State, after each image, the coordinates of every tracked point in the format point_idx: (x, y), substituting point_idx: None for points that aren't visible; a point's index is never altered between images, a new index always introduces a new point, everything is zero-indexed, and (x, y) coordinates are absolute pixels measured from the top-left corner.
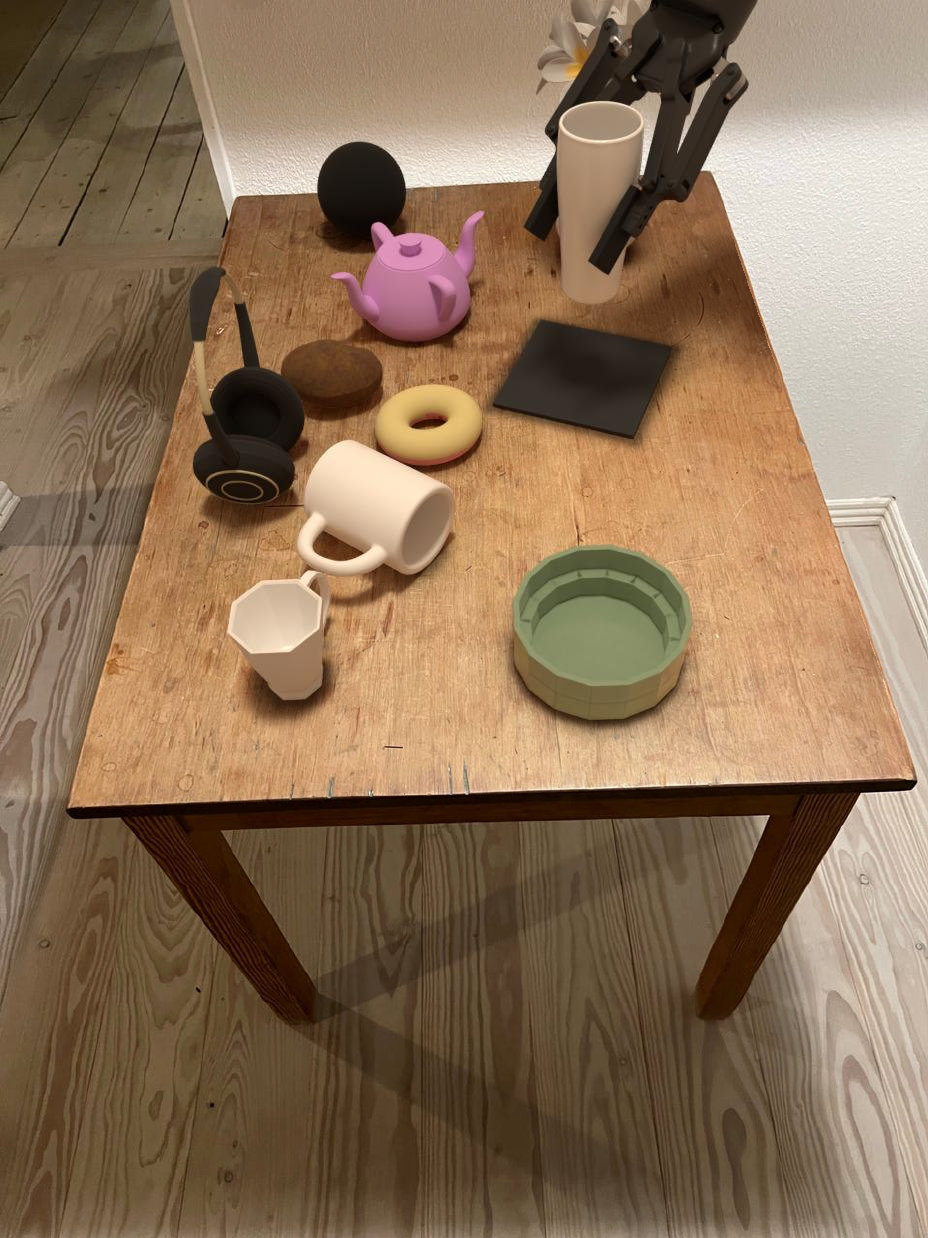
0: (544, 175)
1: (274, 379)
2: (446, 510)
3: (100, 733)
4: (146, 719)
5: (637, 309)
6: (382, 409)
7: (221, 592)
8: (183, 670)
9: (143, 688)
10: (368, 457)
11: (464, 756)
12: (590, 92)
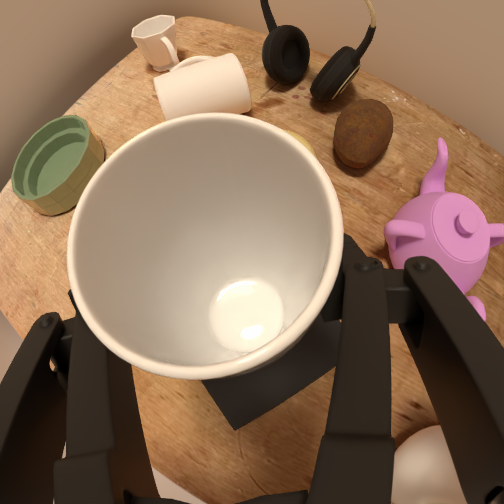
0: (352, 242)
1: (332, 62)
2: None
3: (202, 18)
4: (195, 27)
5: (311, 445)
6: (301, 138)
7: (235, 52)
8: (206, 37)
9: (209, 28)
10: (212, 72)
11: (83, 105)
12: (448, 386)
